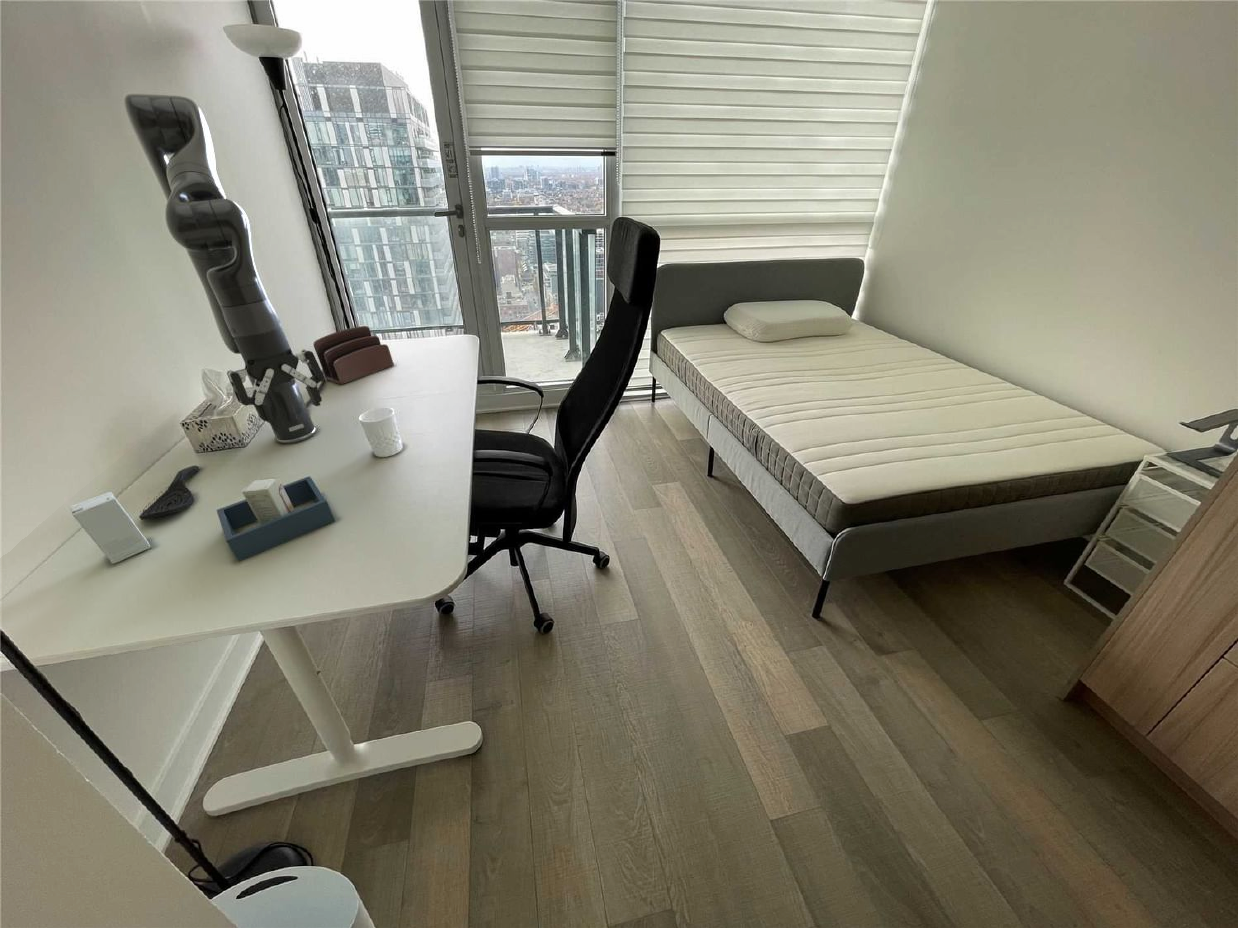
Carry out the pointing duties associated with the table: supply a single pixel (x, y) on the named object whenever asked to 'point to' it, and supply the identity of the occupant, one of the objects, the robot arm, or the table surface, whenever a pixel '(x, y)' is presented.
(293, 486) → the blue open box
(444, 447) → the table surface
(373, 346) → the letter holder
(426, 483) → the table surface
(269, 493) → the white rectangular carton
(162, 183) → the robot arm
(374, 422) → the white cup
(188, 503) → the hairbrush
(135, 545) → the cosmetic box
